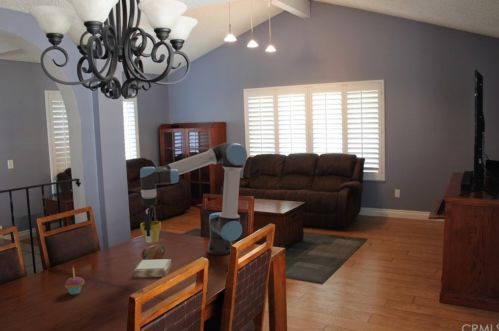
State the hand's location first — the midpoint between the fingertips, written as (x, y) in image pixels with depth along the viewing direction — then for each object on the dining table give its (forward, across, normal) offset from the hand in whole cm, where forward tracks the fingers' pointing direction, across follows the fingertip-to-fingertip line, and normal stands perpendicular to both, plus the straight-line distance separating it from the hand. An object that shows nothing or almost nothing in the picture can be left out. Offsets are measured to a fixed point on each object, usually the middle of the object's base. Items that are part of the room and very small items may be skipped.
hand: (151, 239), depth 225 cm
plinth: (+17, 0, 0) cm, 17 cm away
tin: (+18, -18, -4) cm, 25 cm away
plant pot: (+1, 0, 0) cm, 1 cm away
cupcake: (+17, +25, -31) cm, 43 cm away
